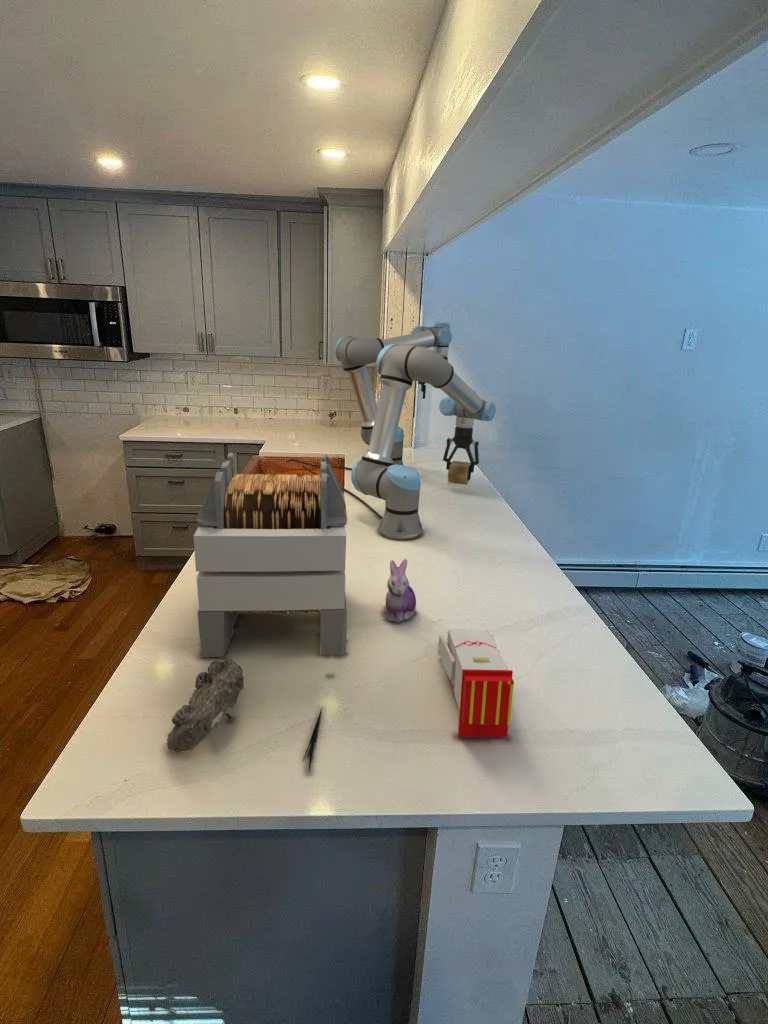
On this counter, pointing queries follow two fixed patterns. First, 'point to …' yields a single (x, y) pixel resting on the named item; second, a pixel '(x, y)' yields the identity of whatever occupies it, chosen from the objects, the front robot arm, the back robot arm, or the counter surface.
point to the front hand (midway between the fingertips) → (459, 478)
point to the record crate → (271, 552)
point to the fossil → (206, 705)
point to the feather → (313, 740)
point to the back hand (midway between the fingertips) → (437, 399)
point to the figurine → (399, 594)
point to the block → (458, 472)
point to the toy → (478, 682)
